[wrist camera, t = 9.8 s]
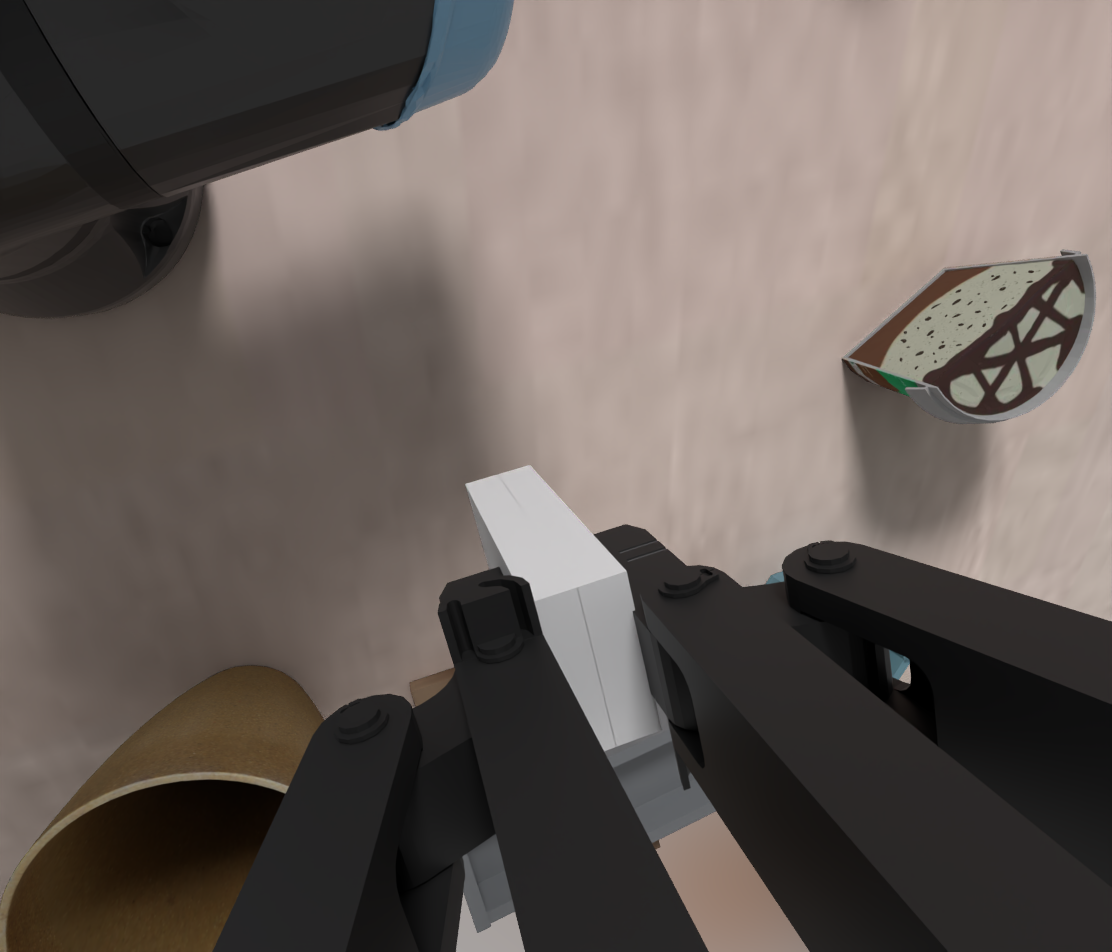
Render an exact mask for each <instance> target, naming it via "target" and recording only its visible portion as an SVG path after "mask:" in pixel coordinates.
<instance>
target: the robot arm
mask: <svg viewBox="0 0 1112 952" xmlns="http://www.w3.org/2000/svg"><path fill="white" fill-rule="evenodd" d="M513 3H514V0H0V313H3V314H8V315H13V316H20V317H29V318H64V317H72V316H80V315H88V314H93V313H98V312H102V311H105V310H109V309H112V308H115V307H118V306H120V305H123V304H125V303H127V302H129V301H131V300H133V299H135V298H137V297H139V296H141V295H142V294H144V293H145V292H147V291H148V290H150V289H151V288H152V287H153V286H155V285H156V284H157V283H158V282H160V281H161V280H162V279H163V278H164V277H165V276H166V275H167V274H168V273H169V272H170V271H171V269H172V268H173V267H174V266H175V265H176V263H177V262H178V261H179V259H180V258H181V256H182V255H183V253H184V252H185V250H186V248H187V246H188V244H189V242H190V240H191V238H192V236H193V233H194V231H195V228H196V225H197V222H198V218H199V214H200V210H201V203H202V195H203V185H205V184H208V183H211V182H214V181H217V180H220V179H223V178H226V177H229V176H232V175H235V174H238V173H241V172H244V171H247V170H250V169H253V168H256V167H259V166H262V165H265V164H268V163H271V162H273V161H276V160H279V159H282V158H285V157H288V156H291V155H294V154H297V153H300V152H303V151H306V150H309V149H312V148H315V147H318V146H321V145H324V144H327V143H330V142H333V141H336V140H339V139H342V138H345V137H348V136H351V135H354V134H357V133H360V132H363V131H366V130H369V129H372V128H373V129H375V130H389V129H393V128H396V127H398V126H399V125H400V123H402V122H404V121H407V120H408V119H409V118H410V117H411V116H412V115H413V114H414V113H416V112H419V111H422V110H424V109H427V108H429V107H432V106H434V105H437V104H439V103H442V102H444V101H447V100H450V99H452V98H455V97H457V96H460V95H462V94H464V93H466V92H468V91H469V90H471V89H473V87H474V86H475V85H476V84H477V83H478V82H479V81H480V80H482V79H483V78H484V77H485V76H486V75H487V73H488V71H489V70H490V69H491V68H492V67H493V66H494V64H495V63H496V61H497V59H498V57H499V55H500V52H501V50H502V47H503V45H504V42H505V39H506V36H507V33H508V29H509V24H510V20H511V15H512V10H513ZM465 486H466V489H467V493H468V496H469V500H470V503H471V507H472V510H473V514H474V517H475V521H476V525H477V528H478V532H479V535H480V539H481V542H482V546H483V549H484V553H485V556H486V560H487V563H488V567H489V570H487V571H484V572H481V573H478V574H474V575H471V576H468V577H465V578H462V579H459V580H456V581H452V582H449V583H447V585H446V587H445V588H444V590H443V592H442V594H441V596H440V597H439V599H440V604H439V609H438V616H439V619H440V622H441V625H442V629H443V632H444V635H445V638H446V641H447V645H448V648H449V651H450V654H451V657H452V661H453V664H454V668H455V672H454V674H453V676H452V678H451V680H450V681H449V682H448V683H447V685H446V686H445V687H444V688H443V689H442V690H440V691H439V692H438V693H437V694H436V695H435V696H433V697H431V698H430V699H428V700H427V701H425V702H424V703H422V704H420V705H418V706H417V707H415V708H413V709H412V706H411V704H410V703H409V702H408V701H407V700H406V699H405V698H404V697H401V696H397V695H392V694H385V695H374V696H370V697H367V698H364V699H357V700H355V701H353V702H350V703H349V705H344V706H343V707H341V708H339V709H338V710H337V711H336V712H334V713H333V714H332V715H331V716H330V717H328V718H327V719H326V720H325V721H323V722H322V723H321V724H320V726H319V727H318V729H317V730H316V731H315V733H314V734H313V736H312V738H311V740H310V742H309V744H308V746H307V748H306V751H305V753H304V755H303V757H302V759H301V761H300V764H299V766H298V768H297V770H296V772H295V774H294V776H293V779H292V781H291V783H290V785H289V787H288V789H287V792H286V794H285V796H284V798H283V800H282V802H281V805H280V807H279V809H278V811H277V813H276V815H275V817H274V820H273V822H272V824H271V826H270V828H269V830H268V833H267V835H266V837H265V839H264V841H263V843H262V845H261V848H260V850H259V852H258V854H257V856H256V858H255V861H254V863H253V865H252V867H251V869H250V871H249V874H248V876H247V878H246V880H245V882H244V884H243V886H242V889H241V891H240V893H239V895H238V897H237V899H236V902H235V904H234V906H233V908H232V910H231V912H230V914H229V917H228V919H227V921H226V923H225V925H224V927H223V930H222V932H221V934H220V936H219V938H218V940H217V943H216V945H215V947H214V949H213V951H212V952H456V944H457V937H458V929H459V921H460V913H461V905H462V897H463V889H464V881H465V868H464V860H463V858H462V857H463V856H464V855H466V854H467V853H468V852H470V851H471V850H473V849H474V848H476V847H477V846H479V845H480V844H482V843H483V842H485V841H486V840H487V839H489V838H490V837H492V836H493V835H495V834H496V836H497V841H498V845H499V849H500V853H501V857H502V861H503V865H504V869H505V873H506V877H507V881H508V885H509V889H510V893H511V897H512V901H513V905H514V909H515V912H516V917H517V921H518V925H519V929H520V933H521V937H522V941H523V945H524V949H525V952H709V951H708V950H707V948H706V946H705V944H704V942H703V940H702V938H701V936H700V934H699V932H698V930H697V928H696V926H695V925H694V923H693V921H692V919H691V917H690V915H689V914H688V911H687V909H686V907H685V905H684V903H683V902H682V900H681V898H680V896H679V894H678V892H677V890H676V888H675V886H674V884H673V882H672V880H671V879H670V877H669V875H668V873H667V871H666V869H665V867H664V865H663V863H662V861H661V859H660V858H659V856H658V854H657V852H656V850H655V848H654V846H653V844H652V842H651V840H650V838H649V836H648V834H647V833H646V831H645V829H644V827H643V825H642V823H641V821H640V819H639V817H638V815H637V813H636V811H635V810H634V808H633V806H632V804H631V802H630V800H629V798H628V796H627V794H626V792H625V790H624V788H623V787H622V785H621V783H620V781H619V779H618V777H617V775H616V773H615V771H614V769H613V767H612V765H611V764H610V762H609V760H608V758H607V756H606V754H605V752H604V751H606V750H609V749H612V748H614V747H617V746H620V745H623V744H625V743H628V742H631V741H633V740H636V739H639V738H641V737H644V736H647V735H650V734H652V733H655V732H658V731H660V730H662V728H661V724H660V719H659V715H658V710H657V706H656V702H657V703H658V704H659V706H660V707H661V709H662V710H663V712H664V713H665V714H666V716H667V720H668V725H669V729H670V734H671V738H672V743H673V747H674V752H675V757H676V761H677V766H678V770H679V775H680V780H681V783H682V786H683V789H684V790H687V789H690V788H691V787H690V782H689V777H688V776H689V774H690V772H691V774H692V775H693V777H694V778H695V780H696V781H697V783H698V784H699V786H700V787H701V789H702V790H703V792H704V793H705V795H706V796H707V798H708V799H709V801H710V802H711V804H712V805H713V807H714V808H715V810H716V811H717V813H718V814H719V816H720V817H721V819H722V820H723V822H724V823H725V825H726V826H727V827H728V829H729V831H730V832H731V834H732V835H733V837H734V838H735V840H736V841H737V843H738V844H739V846H740V847H741V849H742V850H743V852H744V853H745V855H746V856H747V858H748V859H749V861H750V862H751V864H752V865H753V867H754V868H755V870H756V871H757V873H758V874H759V876H760V877H761V879H762V880H763V882H764V884H765V885H766V887H767V888H768V890H769V891H770V893H771V894H772V895H773V897H774V899H775V900H776V902H777V903H778V904H779V906H780V907H781V909H782V911H783V912H784V914H785V915H786V917H787V918H788V920H789V921H790V923H791V924H792V926H793V927H794V929H795V930H796V932H797V933H798V935H799V936H800V938H801V939H802V941H803V942H804V944H805V945H806V947H807V948H808V950H809V951H810V952H1112V622H1111V621H1108V620H1105V619H1101V618H1098V617H1095V616H1092V615H1088V614H1085V613H1082V612H1079V611H1076V610H1072V609H1069V608H1066V607H1063V606H1059V605H1056V604H1053V603H1050V602H1046V601H1043V600H1040V599H1037V598H1033V597H1030V596H1027V595H1024V594H1020V593H1017V592H1014V591H1011V590H1007V589H1004V588H1001V587H998V586H994V585H991V584H988V583H985V582H981V581H978V580H975V579H972V578H968V577H965V576H962V575H959V574H955V573H952V572H949V571H946V570H942V569H939V568H936V567H933V566H930V565H926V564H923V563H920V562H917V561H913V560H910V559H907V558H904V557H900V556H897V555H894V554H891V553H887V552H884V551H881V550H878V549H874V548H871V547H868V546H865V545H861V544H855V543H850V542H834V541H820V543H818V542H816V543H811V544H809V545H808V546H805V547H803V548H800V549H797V550H795V551H794V552H792V553H791V554H789V555H788V556H787V557H786V558H785V560H784V562H783V564H782V569H783V576H784V581H783V582H777V583H771V584H764V585H758V586H749V587H742V586H740V585H739V584H738V583H737V582H735V581H734V580H733V579H732V578H730V577H729V576H728V575H727V574H726V573H724V572H722V571H720V570H718V569H716V568H714V567H708V566H700V565H697V566H686V565H685V564H684V563H683V562H682V561H681V560H679V559H678V558H677V557H676V556H675V555H674V554H673V553H671V552H670V551H669V550H668V549H666V548H665V546H664V545H662V544H661V543H660V542H659V541H657V540H656V538H654V537H653V536H652V535H651V534H650V533H649V532H648V531H646V530H645V529H642V528H638V527H634V526H630V525H626V524H625V525H622V526H619V527H616V528H612V529H609V530H606V531H603V532H600V533H597V534H594V535H593V534H592V533H591V531H590V530H589V529H588V528H587V527H586V526H585V525H584V524H583V523H582V522H581V520H580V519H579V518H578V517H577V516H576V515H575V514H574V513H573V512H572V511H571V510H570V508H569V507H568V506H567V505H566V504H565V503H564V502H563V501H562V500H561V499H560V497H559V496H558V495H557V494H556V493H555V492H554V491H553V490H552V489H551V488H550V486H549V485H548V484H547V483H546V482H545V481H544V480H543V479H542V478H541V477H540V476H539V474H538V473H537V472H536V471H535V470H534V469H533V468H532V467H531V466H530V465H527V466H524V467H521V468H517V469H514V470H511V471H507V472H504V473H500V474H497V475H494V476H490V477H487V478H484V479H480V480H477V481H473V482H470V483H467V484H465ZM889 650H891V651H893V652H895V653H898V654H900V655H902V656H905V657H906V658H908V659H909V661H910V671H911V684H908V683H905V682H902V681H900V680H898V679H896V678H894V677H892V670H891V661H890V652H889ZM655 700H656V701H655Z"/></svg>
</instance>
